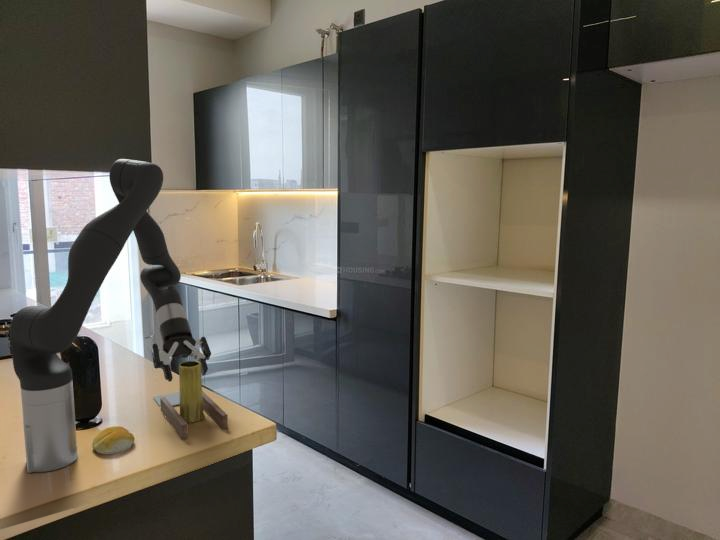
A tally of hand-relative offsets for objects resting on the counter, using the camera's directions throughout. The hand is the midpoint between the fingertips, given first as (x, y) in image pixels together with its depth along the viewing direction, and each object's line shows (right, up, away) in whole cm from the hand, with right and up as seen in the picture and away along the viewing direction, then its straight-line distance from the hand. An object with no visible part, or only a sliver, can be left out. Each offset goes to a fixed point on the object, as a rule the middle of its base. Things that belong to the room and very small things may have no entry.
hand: (187, 376), depth 132 cm
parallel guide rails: (+2, -11, -1) cm, 11 cm away
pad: (-7, -9, +12) cm, 16 cm away
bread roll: (-12, -13, -15) cm, 23 cm away
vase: (+1, -11, 0) cm, 11 cm away
